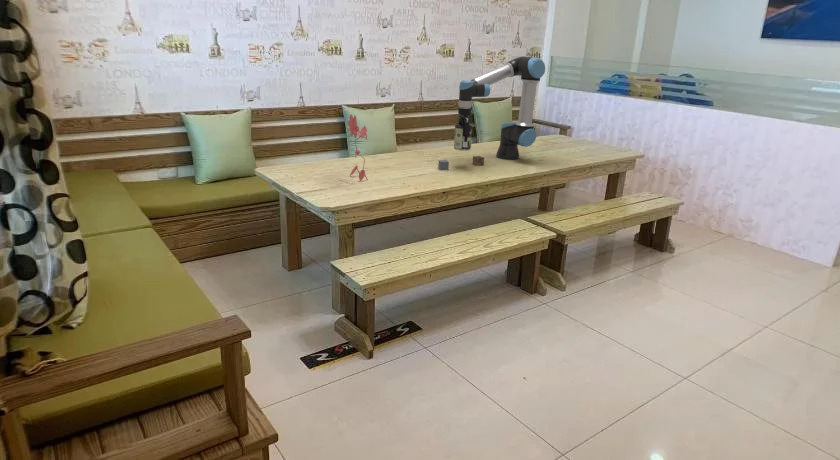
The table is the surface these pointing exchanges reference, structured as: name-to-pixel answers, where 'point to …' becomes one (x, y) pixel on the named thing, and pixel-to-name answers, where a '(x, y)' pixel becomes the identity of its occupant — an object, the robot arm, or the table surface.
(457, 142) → the coffee can
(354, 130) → the red plant
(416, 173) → the table surface
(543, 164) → the table surface
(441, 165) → the blue-gray block
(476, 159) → the walnut block
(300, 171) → the table surface
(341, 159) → the table surface
